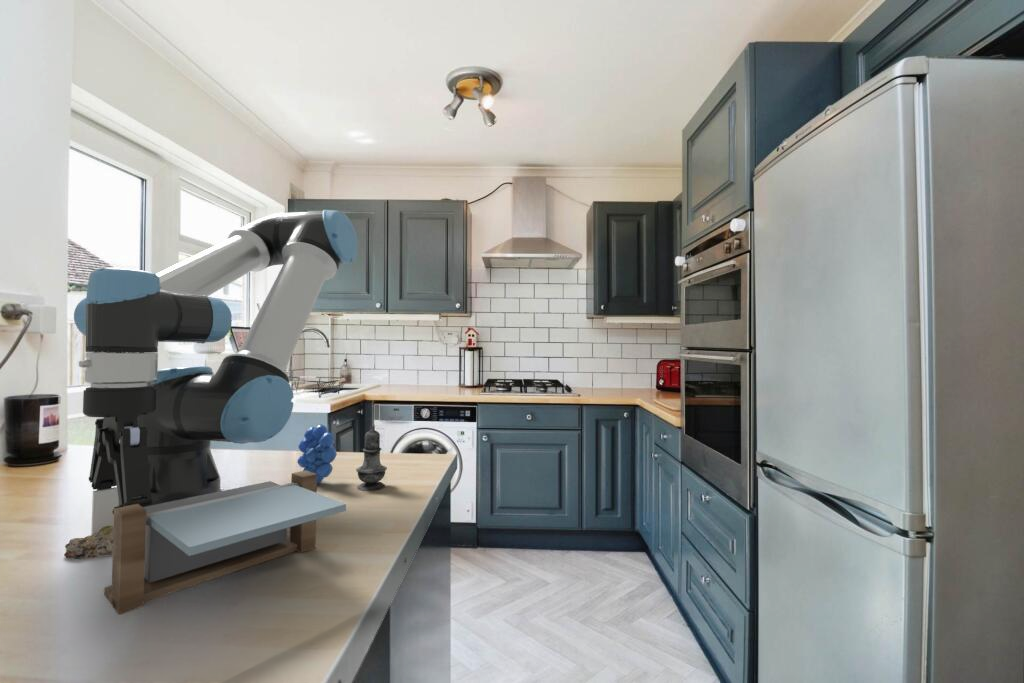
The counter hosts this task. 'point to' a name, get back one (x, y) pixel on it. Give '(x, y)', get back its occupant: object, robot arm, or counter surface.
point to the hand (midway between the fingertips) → (116, 548)
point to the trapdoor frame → (136, 589)
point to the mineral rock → (91, 545)
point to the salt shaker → (371, 463)
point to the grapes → (317, 452)
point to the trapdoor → (226, 525)
